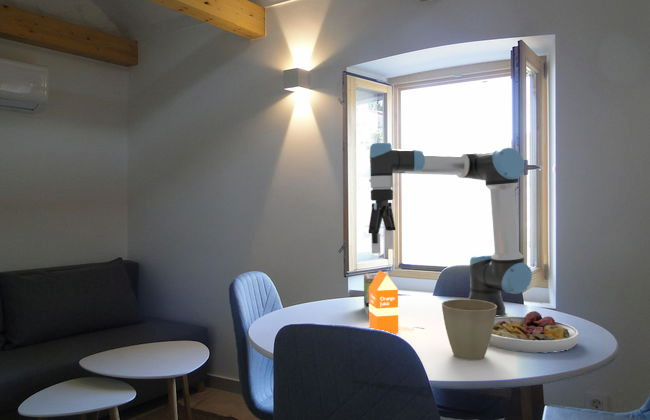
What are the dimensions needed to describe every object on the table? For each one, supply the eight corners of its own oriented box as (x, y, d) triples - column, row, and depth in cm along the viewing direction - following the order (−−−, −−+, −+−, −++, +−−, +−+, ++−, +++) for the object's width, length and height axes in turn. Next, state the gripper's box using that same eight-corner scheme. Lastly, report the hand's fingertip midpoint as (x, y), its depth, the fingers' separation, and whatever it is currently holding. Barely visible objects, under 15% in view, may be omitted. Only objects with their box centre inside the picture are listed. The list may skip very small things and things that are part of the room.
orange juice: (376, 334, 171) (375, 274, 170) (369, 327, 179) (368, 270, 179) (399, 332, 172) (398, 273, 172) (390, 326, 181) (389, 269, 180)
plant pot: (437, 365, 141) (436, 307, 140) (447, 350, 154) (446, 297, 154) (494, 372, 135) (494, 311, 134) (499, 355, 148) (499, 301, 148)
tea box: (391, 315, 200) (391, 278, 200) (365, 316, 201) (365, 278, 200) (387, 307, 215) (387, 272, 215) (363, 307, 216) (363, 272, 215)
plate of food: (572, 364, 141) (572, 336, 140) (464, 348, 157) (463, 323, 156) (583, 338, 166) (583, 314, 166) (489, 327, 182) (489, 305, 182)
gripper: (383, 189, 187) (384, 247, 188) (357, 188, 164) (359, 254, 165) (403, 188, 184) (404, 247, 184) (379, 188, 161) (381, 255, 162)
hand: (382, 251), depth 175 cm, fingers open, 13 cm apart
